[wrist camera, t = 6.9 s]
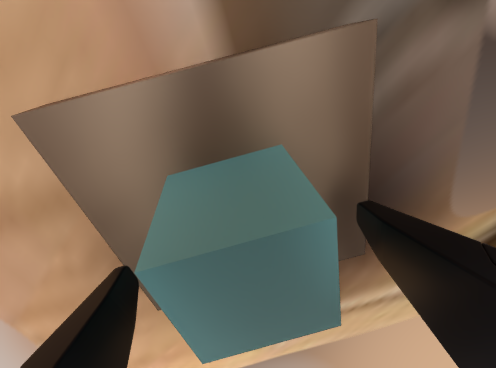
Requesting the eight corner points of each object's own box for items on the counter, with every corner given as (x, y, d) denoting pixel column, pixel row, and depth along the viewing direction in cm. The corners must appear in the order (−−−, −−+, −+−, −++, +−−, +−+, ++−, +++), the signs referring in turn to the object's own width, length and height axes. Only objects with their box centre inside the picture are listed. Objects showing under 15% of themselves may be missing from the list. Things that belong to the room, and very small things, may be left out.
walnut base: (347, 24, 10) (377, 18, 8) (348, 232, 16) (364, 254, 14) (46, 104, 10) (11, 116, 8) (163, 282, 16) (157, 310, 14)
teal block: (281, 144, 10) (336, 217, 6) (295, 230, 12) (340, 325, 8) (167, 175, 10) (134, 272, 6) (205, 255, 12) (202, 363, 8)
